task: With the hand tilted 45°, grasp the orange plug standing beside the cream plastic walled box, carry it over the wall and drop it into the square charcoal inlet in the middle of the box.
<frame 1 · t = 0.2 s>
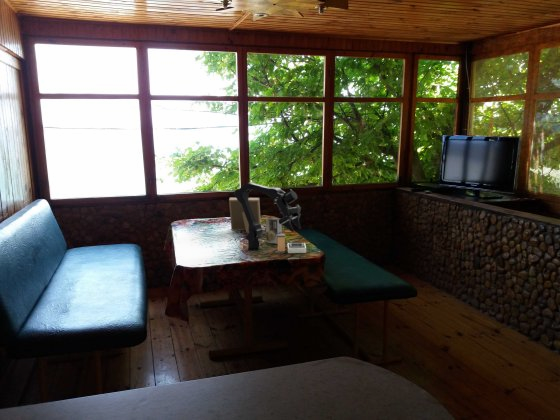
hand: (296, 230, 248), 15 cm above the table, tool tilted 35°, fingers open, 9 cm apart
coffee box: (274, 242, 280), on the table
socket box: (296, 250, 260), on the table
photo frame: (245, 231, 312), on the table
plug: (281, 250, 260), on the table
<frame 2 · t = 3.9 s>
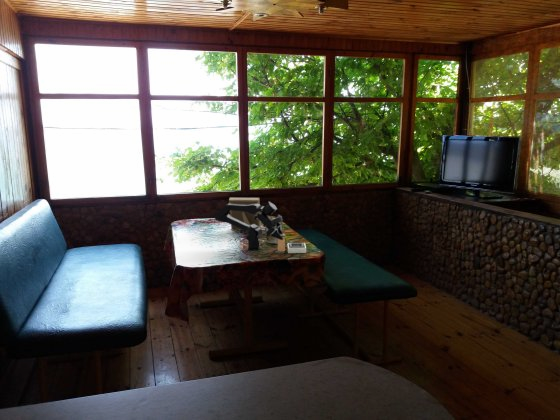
hand: (283, 238, 259), 8 cm above the table, tool tilted 45°, fingers closed on plug, 5 cm apart
plug: (281, 250, 260), on the table, touching gripper
everything else where it was.
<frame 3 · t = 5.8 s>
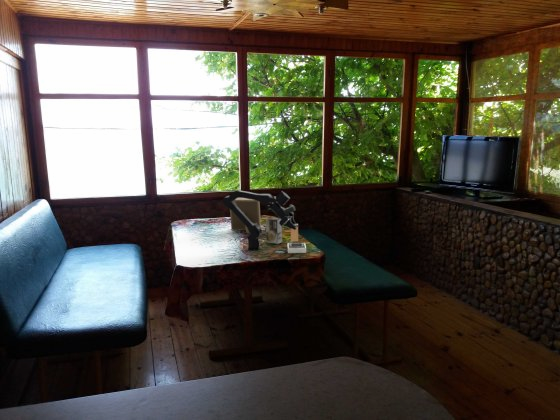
hand: (296, 228, 257), 14 cm above the table, tool tilted 45°, fingers closed on plug, 5 cm apart
plug: (294, 240, 259), point 6 cm above the table, touching gripper
everything else where it was.
when the fingers open (10 cm above the table, at t = 8.0 s): plug drops 1 cm, resting on socket box.
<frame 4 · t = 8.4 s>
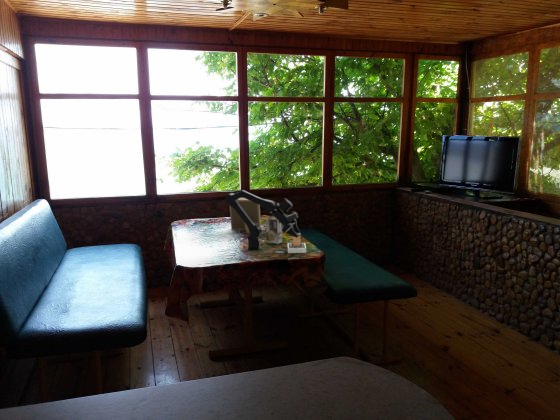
hand: (298, 235, 258), 10 cm above the table, tool tilted 45°, fingers open, 9 cm apart
plug: (296, 249, 260), point 1 cm above the table, touching socket box
everything else where it was.
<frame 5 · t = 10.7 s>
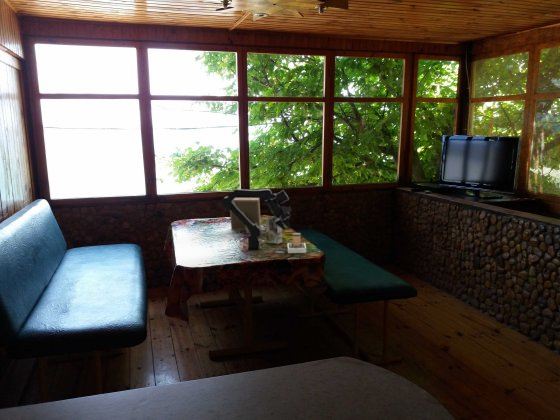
hand: (287, 229, 261), 13 cm above the table, tool tilted 30°, fingers open, 9 cm apart
nothing on the table moved.
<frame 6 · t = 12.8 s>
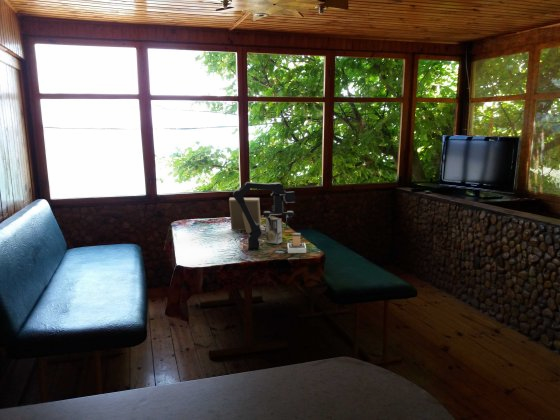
hand: (278, 227, 265), 13 cm above the table, tool pointing down, fingers open, 9 cm apart
nothing on the table moved.
at the end: plug 0.2 cm off-centre on the socket box, point 0.5 cm above the socket box's base; plug tilted 0°; the gripper is holding nothing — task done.
